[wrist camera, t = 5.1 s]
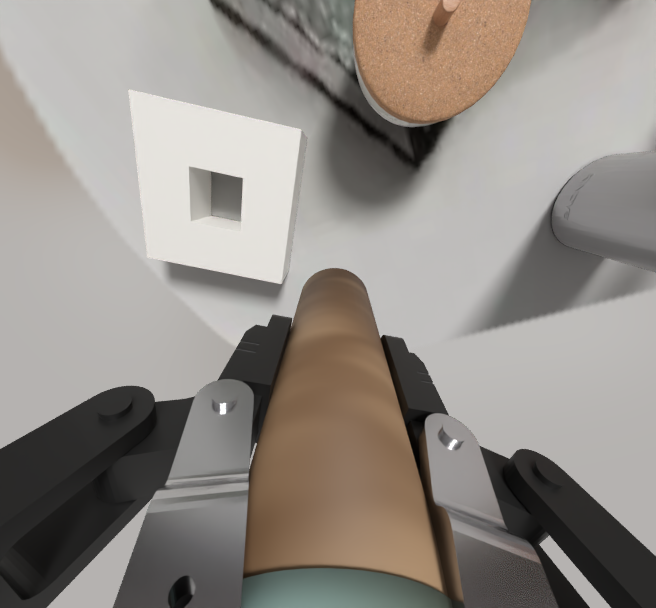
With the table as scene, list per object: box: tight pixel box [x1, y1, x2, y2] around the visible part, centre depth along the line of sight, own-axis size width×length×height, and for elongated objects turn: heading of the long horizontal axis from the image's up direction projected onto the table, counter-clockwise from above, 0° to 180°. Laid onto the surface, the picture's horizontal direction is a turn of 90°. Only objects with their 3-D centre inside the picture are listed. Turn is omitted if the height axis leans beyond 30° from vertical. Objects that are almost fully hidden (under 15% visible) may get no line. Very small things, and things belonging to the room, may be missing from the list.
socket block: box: [128, 89, 307, 284], centre depth 26 cm, size 14×14×4 cm
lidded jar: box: [353, 0, 531, 127], centre depth 19 cm, size 11×11×9 cm
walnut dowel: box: [241, 268, 453, 608], centre depth 8 cm, size 4×4×12 cm
